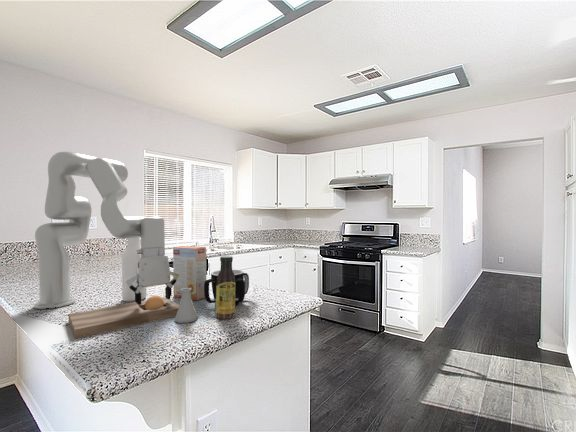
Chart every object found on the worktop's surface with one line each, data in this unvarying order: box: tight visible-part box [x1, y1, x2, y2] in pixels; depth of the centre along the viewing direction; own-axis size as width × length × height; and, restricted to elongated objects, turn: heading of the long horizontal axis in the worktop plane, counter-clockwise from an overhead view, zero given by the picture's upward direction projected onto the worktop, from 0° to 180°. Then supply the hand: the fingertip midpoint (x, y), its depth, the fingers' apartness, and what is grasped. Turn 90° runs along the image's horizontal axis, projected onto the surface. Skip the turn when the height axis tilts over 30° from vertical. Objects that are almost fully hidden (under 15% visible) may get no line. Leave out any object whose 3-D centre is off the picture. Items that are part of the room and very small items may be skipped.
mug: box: [204, 269, 250, 306], centre depth 116 cm, size 16×16×12 cm
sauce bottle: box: [215, 255, 236, 320], centre depth 101 cm, size 6×6×20 cm
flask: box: [173, 288, 199, 324], centre depth 98 cm, size 7×7×10 cm
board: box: [68, 296, 180, 339], centre depth 101 cm, size 18×30×2 cm, turn 130°
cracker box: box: [172, 245, 207, 301], centre depth 126 cm, size 14×6×21 cm, turn 58°
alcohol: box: [121, 237, 147, 303], centre depth 124 cm, size 9×9×30 cm
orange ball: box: [145, 295, 164, 310], centre depth 106 cm, size 6×6×6 cm
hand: (153, 301), depth 106 cm, fingers open, 9 cm apart
